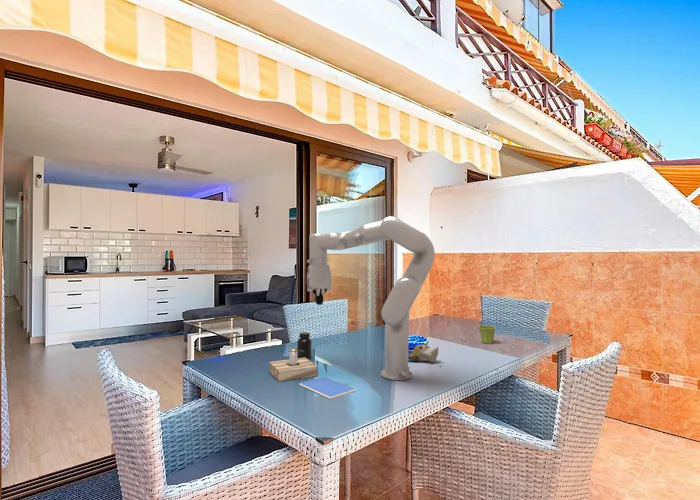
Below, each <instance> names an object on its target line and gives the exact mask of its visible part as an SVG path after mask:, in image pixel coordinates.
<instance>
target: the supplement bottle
mask: <svg viewBox="0 0 700 500" xmlns="http://www.w3.org/2000/svg"><path fill="white" fill-rule="evenodd" d="M298 336H299V337H298V339H297V341H296V349H297V358H307V359H308V360H311V359H312V348H313V347H312V346H313V345H312V344H313V343H312V339H311V338H310V332H306V331H302V332H299V335H298Z"/></svg>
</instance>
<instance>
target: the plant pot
mask: <svg viewBox="0 0 700 500" xmlns="http://www.w3.org/2000/svg"><path fill="white" fill-rule="evenodd" d="M478 329H479V334H480V340H481V343H482V344H491V345H492V344H493V343H494V340H495V339H494V338H495V332H496V329H497V327H496V326H493V325H479V326H478Z"/></svg>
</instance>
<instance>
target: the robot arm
mask: <svg viewBox="0 0 700 500" xmlns="http://www.w3.org/2000/svg"><path fill="white" fill-rule="evenodd" d="M308 237H309V240H308V241H309V242H308V243H309V259H307V260H306V262H307V264H309V265H308V266H307V273H306V286H307V289H306V290H307V292H309V293H312V294H313V295H314V297H315V299H314V300H315V305H317V306H323V303H324V295H325V293H326V292H327V291H330V290H331V289H332V286H333V283H332V281H333V279H332V273H331V272H332V271H331V267H330V265H329V264H328V250H329V251H342V250H347V249H351V248H356V247H359V246H367V245H369V244H375V243H379V242H384V241H388V240H390V241H392V242H393V243H396V244H398V245H399V246H401V247H402V248H404V249H406V250H407V251H410V252H411V253H413V254H412V255H413V256H412V258H411V260H410V262H409V263H408V266H407V268H406V270H405V272H404V273H403V275H402V276H401V277H400V278H398V279H397V281H396V282H395V283H394V285H393V287H392V288H391V290H390V292H389V294H388V297H387V299H386V300H385V302H384V304H383V307H382V308H381V317H382V320H383V321H384V323H385V326H384V327H385V328H384V329H385V330H384V334H385V335H384V369H382V370H381V372H380V376H381V377H382V378H383V379H387V380H390V381H391V380H392V381H405V380H406V381H407V380H409V379H411V378H412V377H413V372H412V371H410V366H409V359H408V355H409V337H410V336H409V334H410V333H409V332H410V330H409V326H410V310H411V309H412V306H413V304H414V303H415V300H416V298H417V297H418V295H420V292H421V289H422V287H423V284H424V283H425V281H426V279H427V277H428V275H429V273H430V271H431V269H432V266H433V264H434V261H435V258H436V256H435V255H436V254H435V247H434V245H433V242H432V241H431V239H430V238H429V237H428V235H427V234H426V233H424V232H422V231H420V230H418V229H416V228H415V227H412V226H411V225H409V224H407V223H406V222H404V221H402V220H401V219H400V218H398V217H396V216H394V215H389V216H386V217H385V218H383V219H381V220H377V221H373V222H368V223H364V224H362V225H361V226H359V227H358V228H356V229H353V230H352V229H351V230H347V231H344V232H335V231H334V232H333V231H331V232H326V233H318V232H317V233H311V234H310V235H309V236H308Z"/></svg>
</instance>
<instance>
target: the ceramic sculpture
mask: <svg viewBox="0 0 700 500" xmlns="http://www.w3.org/2000/svg"><path fill="white" fill-rule="evenodd" d="M412 350H413V351H410V352H411V354H408V360H409V361H418V362H419V361H420V362H426V361H428V362H430V363H431V364H432V363H436V360H437V358H438V356H439V346H437V347H430V346H429V344H427V343H425V342H422V343H421V344H418V345H415V346H414V348H413V349H412Z"/></svg>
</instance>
